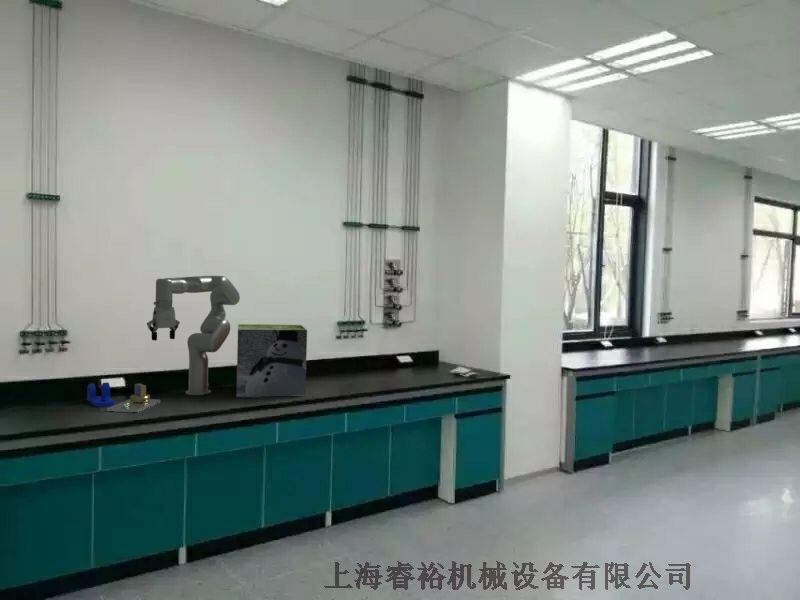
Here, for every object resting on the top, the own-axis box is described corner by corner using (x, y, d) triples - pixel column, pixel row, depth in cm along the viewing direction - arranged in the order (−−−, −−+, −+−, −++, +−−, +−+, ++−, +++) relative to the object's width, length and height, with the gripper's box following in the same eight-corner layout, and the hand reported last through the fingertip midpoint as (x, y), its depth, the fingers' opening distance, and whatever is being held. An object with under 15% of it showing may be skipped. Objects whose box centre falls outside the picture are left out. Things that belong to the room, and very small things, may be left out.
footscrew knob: (127, 400, 279) (127, 384, 279) (145, 398, 285) (145, 382, 285) (136, 404, 272) (136, 387, 272) (154, 401, 278) (154, 385, 278)
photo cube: (299, 384, 345) (300, 324, 344) (305, 396, 311) (307, 330, 310) (236, 385, 336) (238, 324, 335) (236, 397, 302) (237, 329, 301)
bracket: (87, 401, 284) (87, 382, 284) (106, 399, 289) (106, 381, 289) (96, 408, 270) (97, 388, 270) (116, 406, 275) (116, 387, 275)
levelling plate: (132, 401, 286) (132, 394, 286) (160, 402, 285) (160, 395, 285) (106, 411, 264) (107, 404, 264) (137, 412, 263) (137, 405, 263)
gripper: (152, 304, 276) (151, 341, 277) (184, 304, 291) (183, 339, 291) (142, 304, 280) (142, 340, 281) (174, 303, 295) (174, 337, 295)
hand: (163, 339), depth 286 cm, fingers open, 9 cm apart
